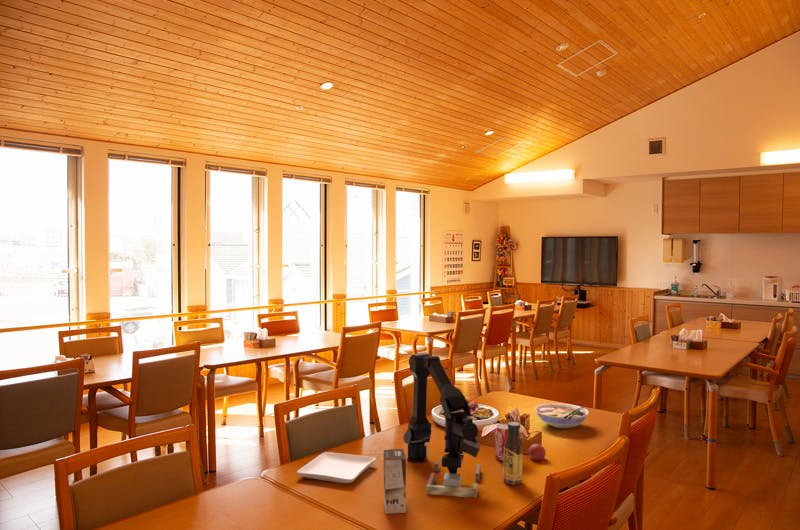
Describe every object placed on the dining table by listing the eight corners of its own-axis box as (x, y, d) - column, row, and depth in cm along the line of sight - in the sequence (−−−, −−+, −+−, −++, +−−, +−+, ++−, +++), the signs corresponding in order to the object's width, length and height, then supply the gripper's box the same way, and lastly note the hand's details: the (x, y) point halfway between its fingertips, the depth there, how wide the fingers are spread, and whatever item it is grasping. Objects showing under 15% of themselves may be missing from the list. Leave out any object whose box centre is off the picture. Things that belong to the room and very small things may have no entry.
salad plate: (295, 480, 194) (295, 470, 194) (324, 459, 214) (324, 450, 214) (352, 489, 187) (352, 479, 186) (377, 466, 206) (377, 457, 206)
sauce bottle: (499, 480, 192) (499, 421, 192) (515, 477, 195) (515, 419, 194) (510, 487, 186) (510, 426, 186) (526, 484, 189) (526, 424, 188)
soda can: (514, 462, 209) (514, 429, 208) (494, 461, 210) (494, 428, 210) (514, 455, 216) (514, 424, 215) (495, 454, 217) (495, 423, 217)
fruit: (527, 462, 214) (520, 446, 211) (536, 452, 217) (529, 436, 214) (541, 467, 209) (534, 451, 206) (549, 456, 212) (542, 440, 210)
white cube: (443, 492, 183) (443, 478, 182) (445, 486, 188) (445, 473, 187) (459, 494, 182) (459, 480, 182) (460, 487, 187) (460, 474, 186)
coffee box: (406, 513, 168) (406, 459, 168) (384, 514, 168) (384, 459, 168) (403, 499, 178) (403, 448, 177) (383, 500, 177) (382, 449, 177)
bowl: (503, 432, 244) (503, 414, 244) (433, 432, 245) (433, 414, 244) (493, 413, 274) (492, 396, 274) (430, 413, 275) (430, 396, 274)
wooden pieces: (426, 493, 182) (426, 486, 182) (435, 468, 204) (435, 461, 204) (476, 497, 179) (476, 489, 179) (480, 471, 201) (480, 464, 201)
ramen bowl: (547, 415, 268) (547, 398, 268) (596, 424, 255) (596, 405, 255) (525, 429, 248) (525, 410, 248) (577, 439, 235) (577, 419, 234)
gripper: (476, 442, 177) (477, 492, 178) (480, 424, 196) (480, 470, 196) (441, 440, 180) (441, 490, 180) (447, 423, 198) (447, 468, 198)
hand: (454, 479), depth 188 cm, fingers closed
